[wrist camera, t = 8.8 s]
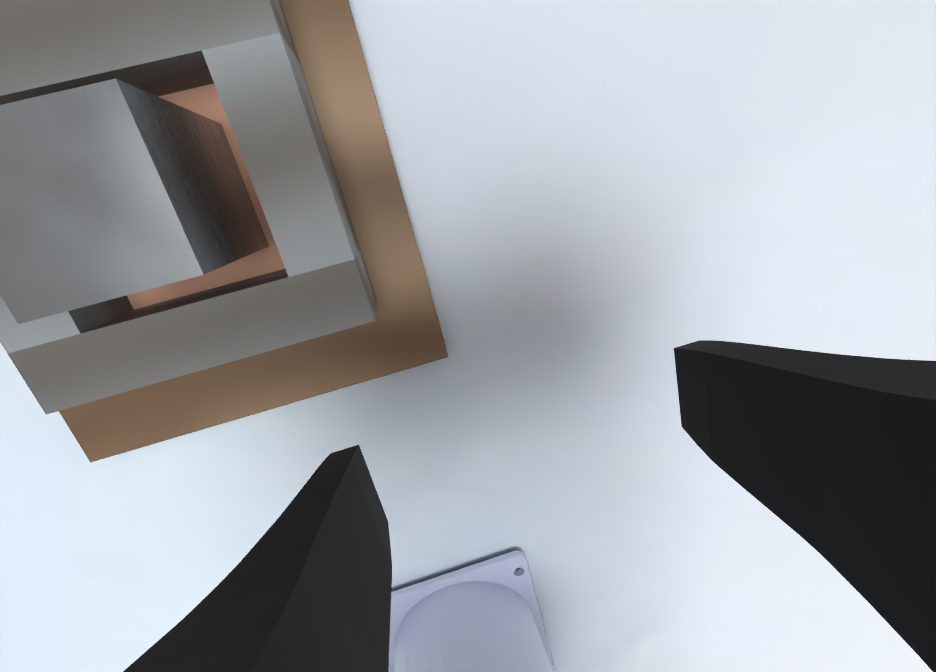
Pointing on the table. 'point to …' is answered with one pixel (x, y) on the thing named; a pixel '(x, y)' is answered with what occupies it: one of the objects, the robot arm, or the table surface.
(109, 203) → the steel block
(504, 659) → the robot arm
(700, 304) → the table surface
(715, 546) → the table surface
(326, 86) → the well board
